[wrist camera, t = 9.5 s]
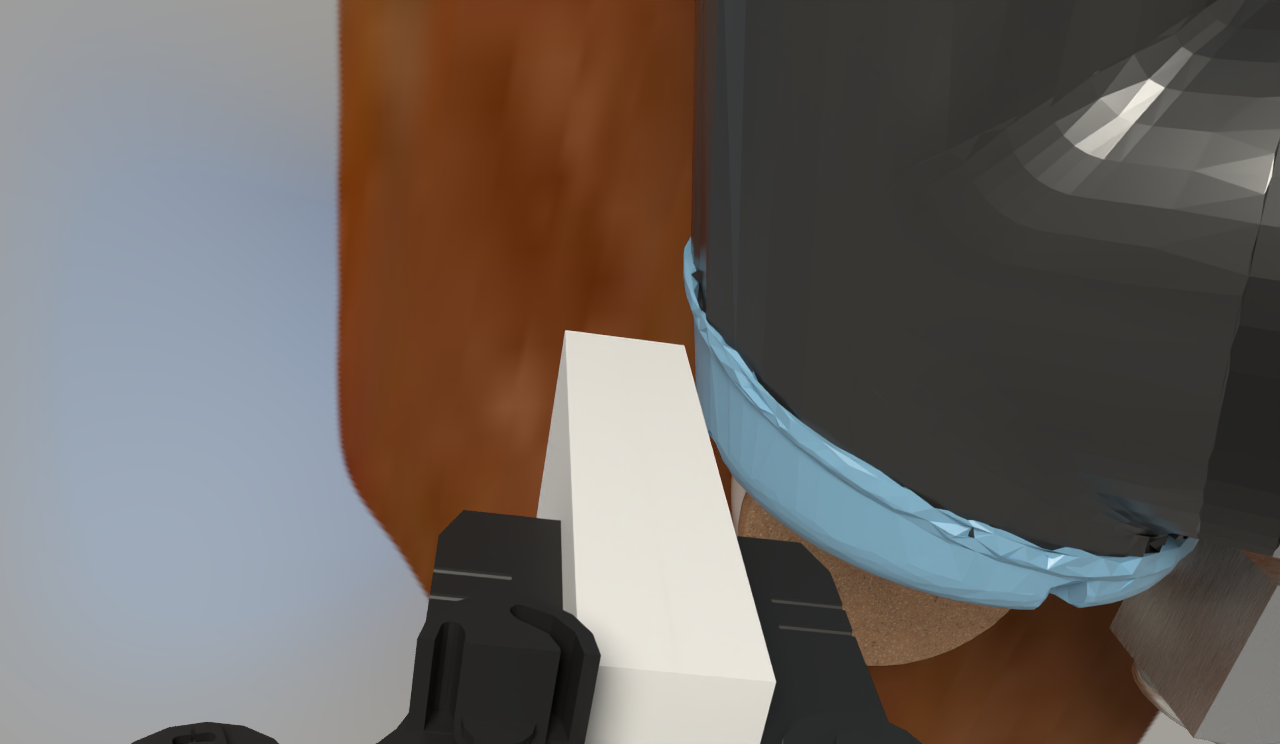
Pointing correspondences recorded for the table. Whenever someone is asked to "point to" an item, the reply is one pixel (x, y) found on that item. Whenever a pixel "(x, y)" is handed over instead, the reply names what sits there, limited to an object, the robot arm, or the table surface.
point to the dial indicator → (1210, 644)
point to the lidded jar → (878, 599)
